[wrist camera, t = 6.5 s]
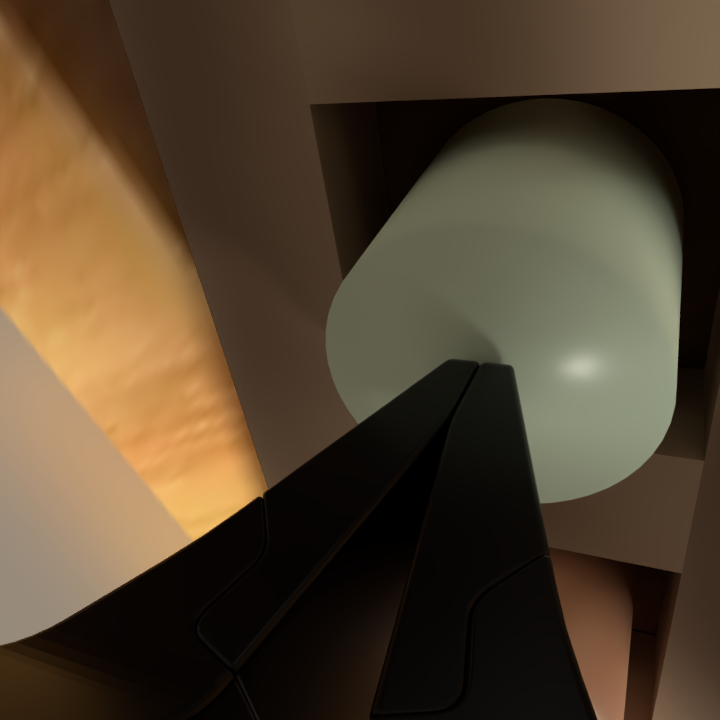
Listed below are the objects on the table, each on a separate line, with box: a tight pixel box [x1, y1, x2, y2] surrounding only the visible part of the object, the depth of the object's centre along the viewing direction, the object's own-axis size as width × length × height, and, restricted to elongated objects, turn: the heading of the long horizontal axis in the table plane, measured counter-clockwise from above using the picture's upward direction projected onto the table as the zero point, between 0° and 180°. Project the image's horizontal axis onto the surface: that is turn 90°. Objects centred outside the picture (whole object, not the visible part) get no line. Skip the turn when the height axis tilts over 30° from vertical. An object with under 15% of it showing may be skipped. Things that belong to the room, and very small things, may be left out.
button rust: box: [549, 547, 637, 720], centre depth 16 cm, size 5×5×4 cm
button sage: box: [326, 98, 684, 503], centre depth 11 cm, size 5×5×4 cm
